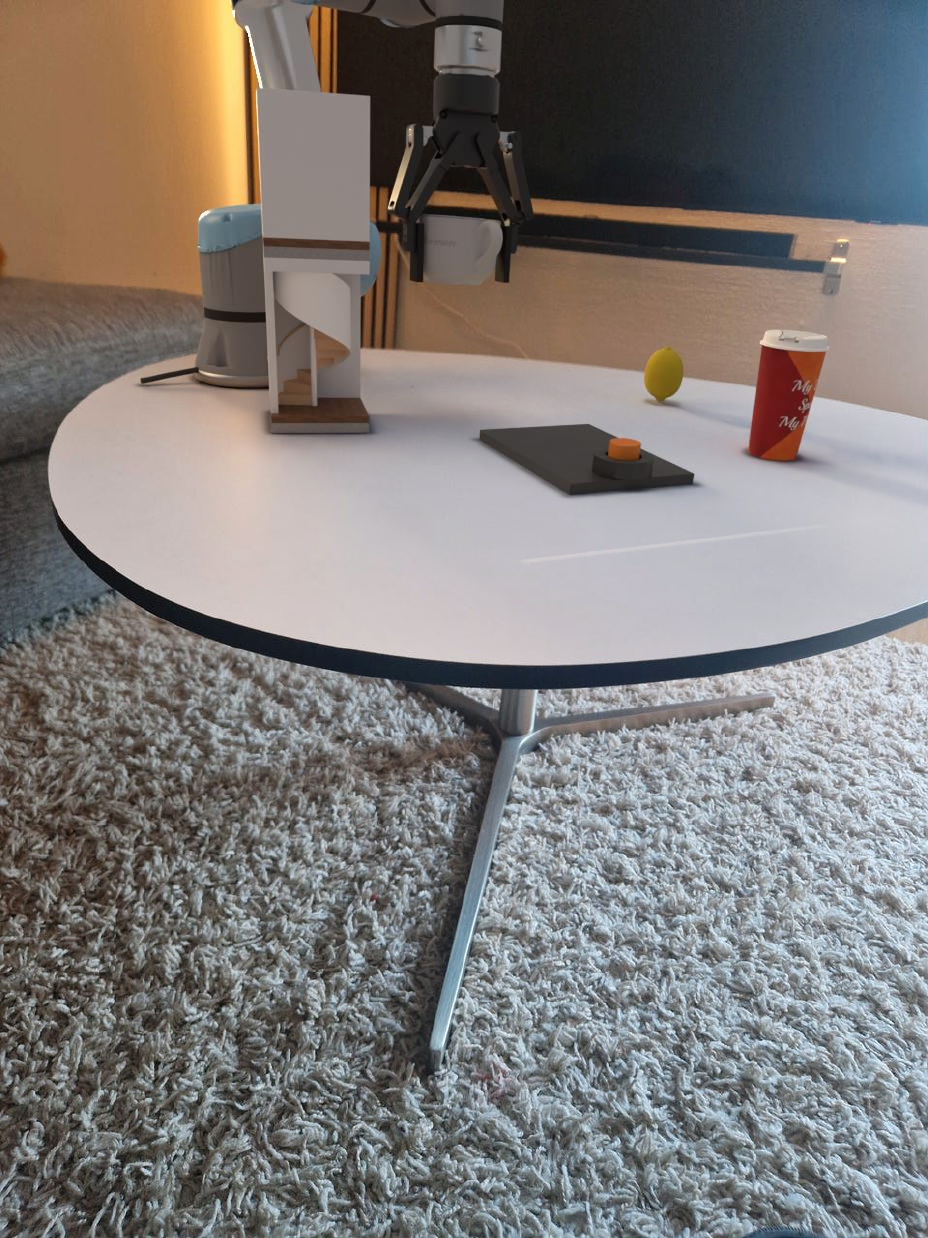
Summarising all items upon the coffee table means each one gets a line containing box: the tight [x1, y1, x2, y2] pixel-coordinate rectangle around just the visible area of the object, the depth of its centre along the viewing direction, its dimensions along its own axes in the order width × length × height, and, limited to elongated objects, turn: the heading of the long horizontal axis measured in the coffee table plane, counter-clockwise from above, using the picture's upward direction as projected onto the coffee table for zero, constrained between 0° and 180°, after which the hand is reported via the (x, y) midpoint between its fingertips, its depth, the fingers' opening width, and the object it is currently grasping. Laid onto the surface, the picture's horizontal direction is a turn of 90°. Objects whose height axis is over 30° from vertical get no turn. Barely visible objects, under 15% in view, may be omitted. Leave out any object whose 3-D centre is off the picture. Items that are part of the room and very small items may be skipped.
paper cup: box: [748, 329, 831, 462], centre depth 105 cm, size 8×8×14 cm
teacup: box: [417, 213, 503, 287], centre depth 110 cm, size 14×11×8 cm
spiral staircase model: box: [255, 87, 371, 434], centre depth 103 cm, size 11×11×35 cm
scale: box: [478, 423, 695, 496], centre depth 100 cm, size 15×22×3 cm, turn 23°
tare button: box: [608, 437, 642, 460], centre depth 92 cm, size 3×3×2 cm
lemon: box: [643, 345, 684, 403], centre depth 130 cm, size 6×6×8 cm
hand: (459, 281), depth 111 cm, fingers closed on teacup, 11 cm apart
